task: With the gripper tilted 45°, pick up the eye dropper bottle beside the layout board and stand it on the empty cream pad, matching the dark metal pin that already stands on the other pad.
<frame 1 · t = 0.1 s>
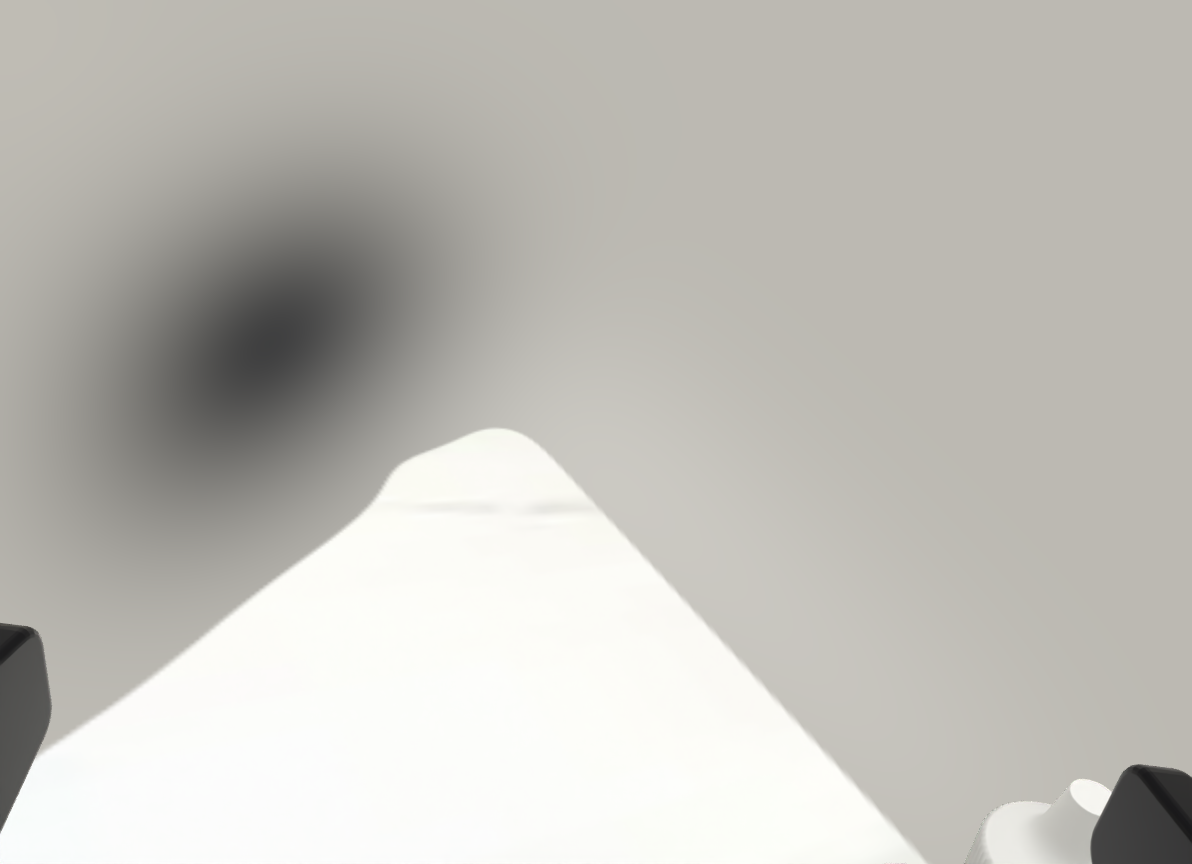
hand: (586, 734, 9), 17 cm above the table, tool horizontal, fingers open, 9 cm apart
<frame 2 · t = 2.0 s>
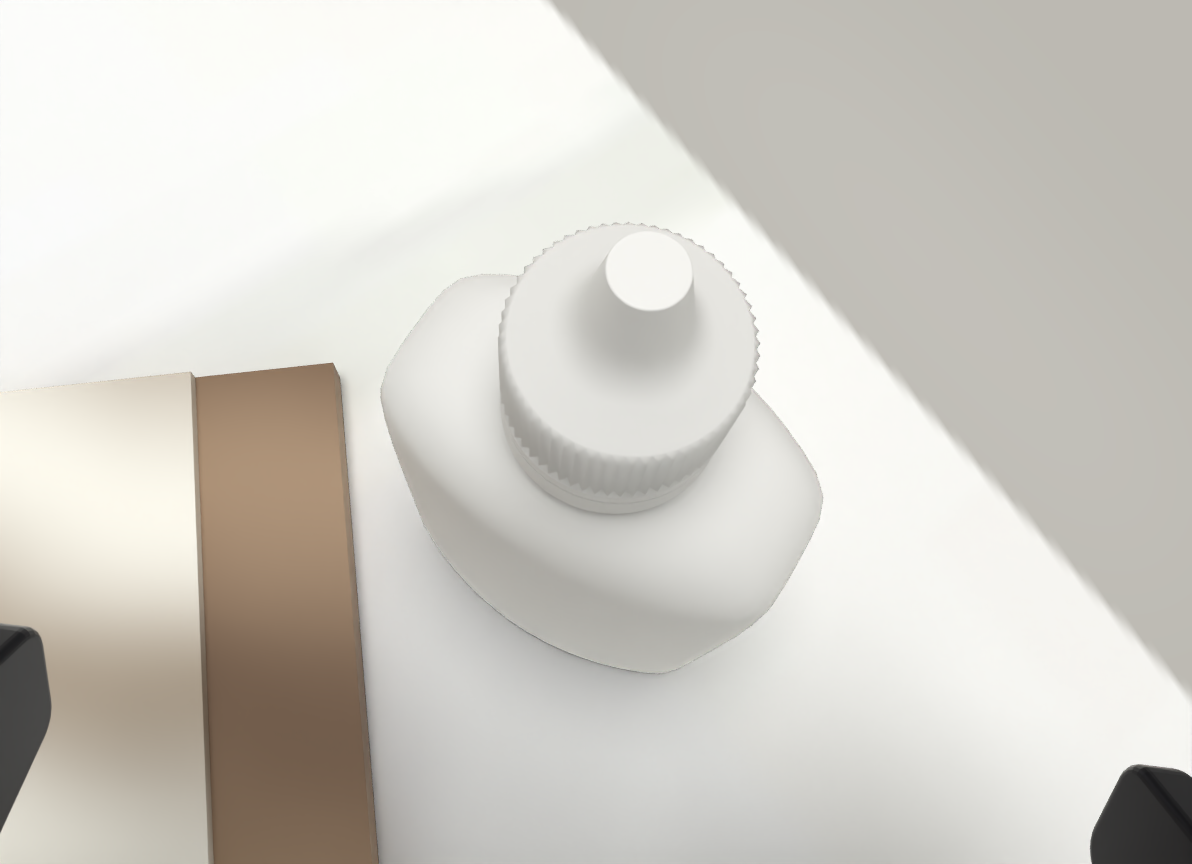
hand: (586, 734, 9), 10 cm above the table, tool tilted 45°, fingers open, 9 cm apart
eye dropper bottle: (571, 555, 20), on the table
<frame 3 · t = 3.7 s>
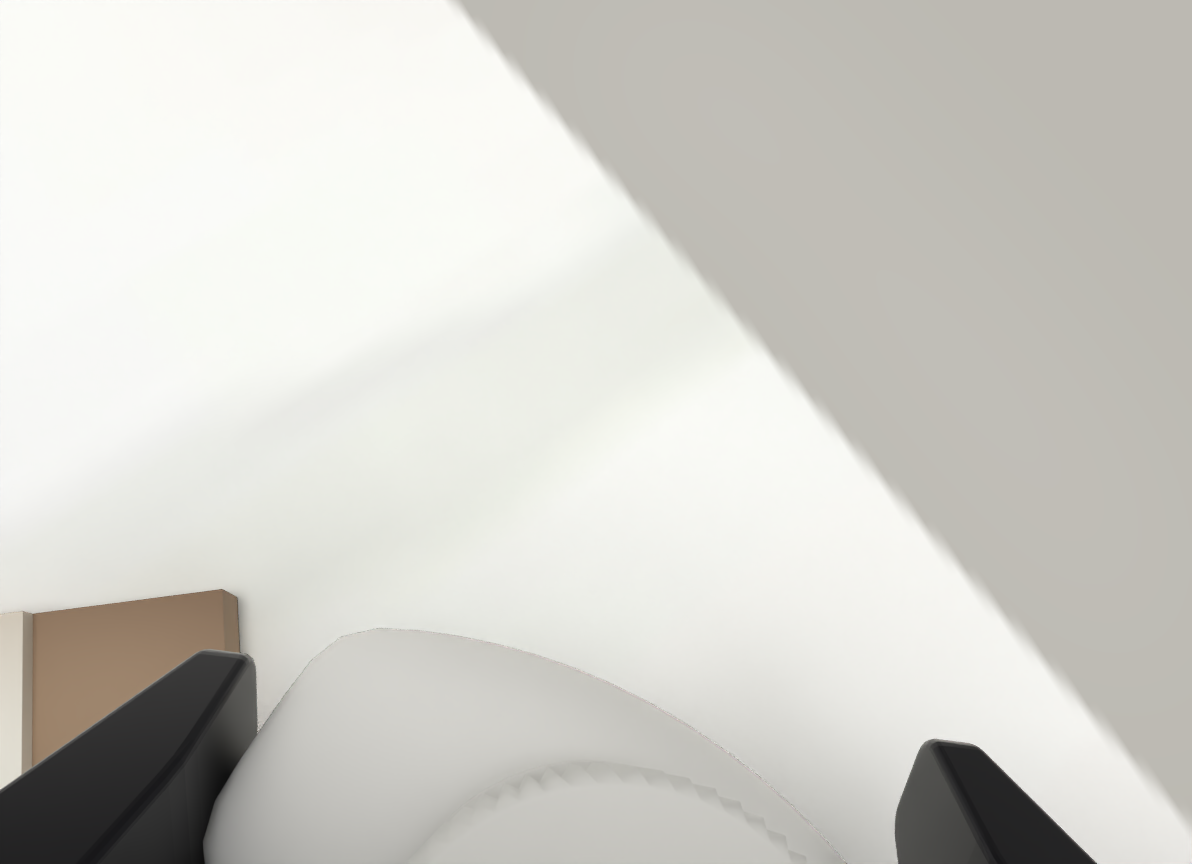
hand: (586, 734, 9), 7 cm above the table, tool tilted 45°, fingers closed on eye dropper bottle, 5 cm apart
eye dropper bottle: (545, 842, 15), on the table, touching gripper
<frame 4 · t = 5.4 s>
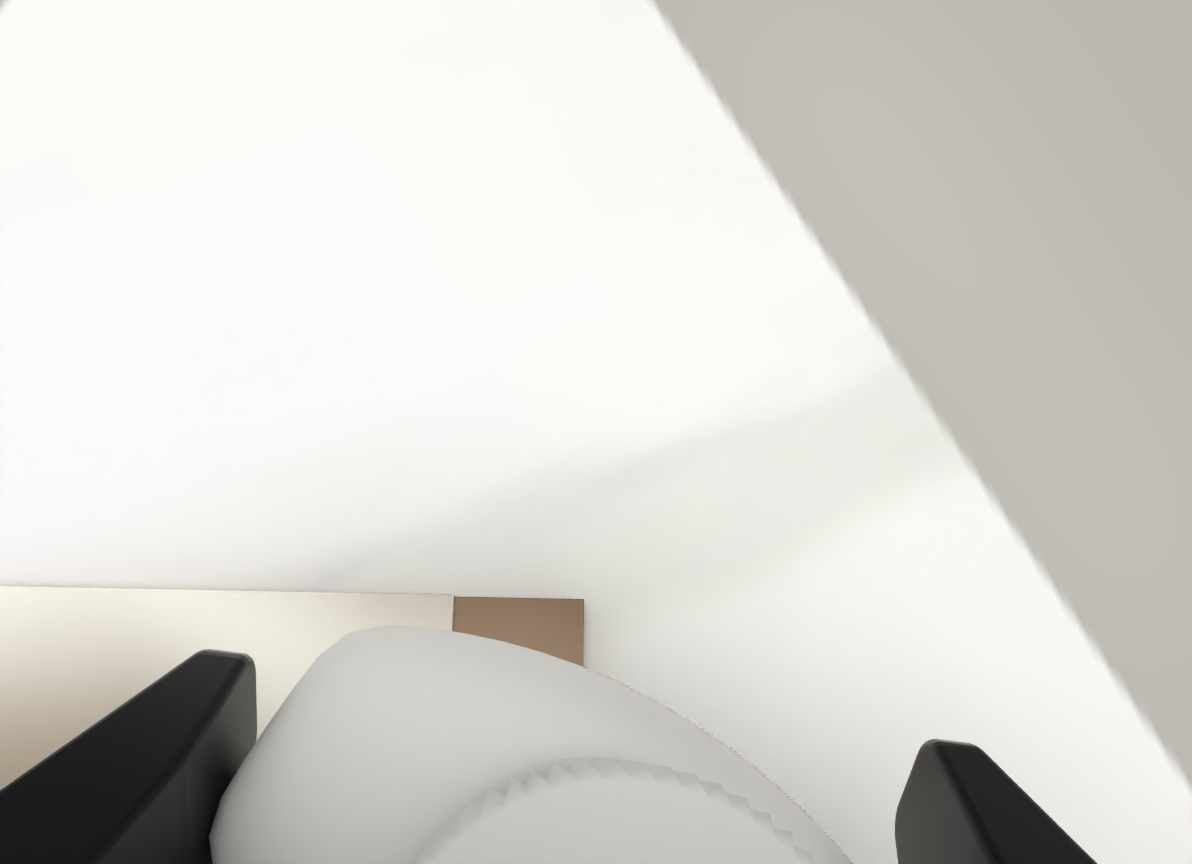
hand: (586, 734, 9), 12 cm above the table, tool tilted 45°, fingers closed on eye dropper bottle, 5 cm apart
eye dropper bottle: (547, 840, 15), point 5 cm above the table, touching gripper
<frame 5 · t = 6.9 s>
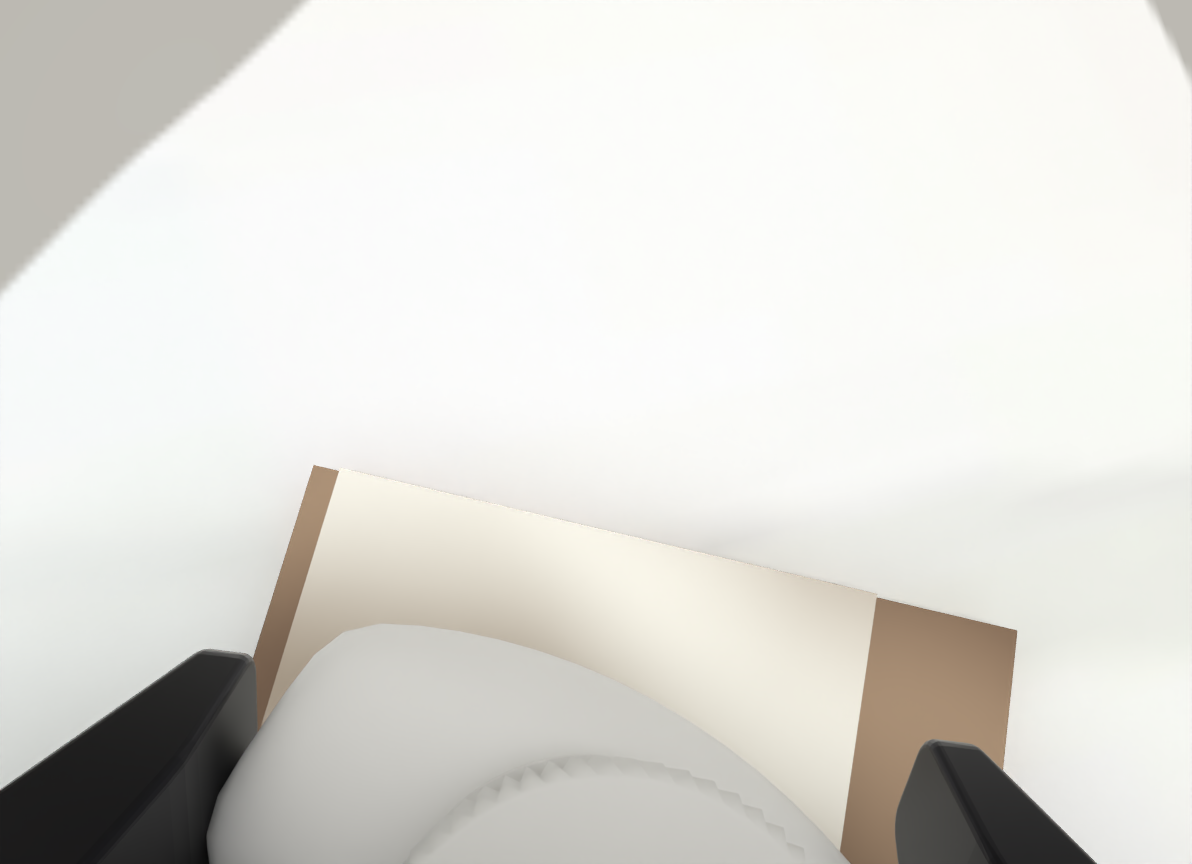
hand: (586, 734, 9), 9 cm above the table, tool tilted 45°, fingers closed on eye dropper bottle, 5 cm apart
eye dropper bottle: (545, 838, 15), point 2 cm above the table, touching gripper
when the fingers open (9 cm above the table, at t = 7.5 s): eye dropper bottle stays where it is, resting on layout board.
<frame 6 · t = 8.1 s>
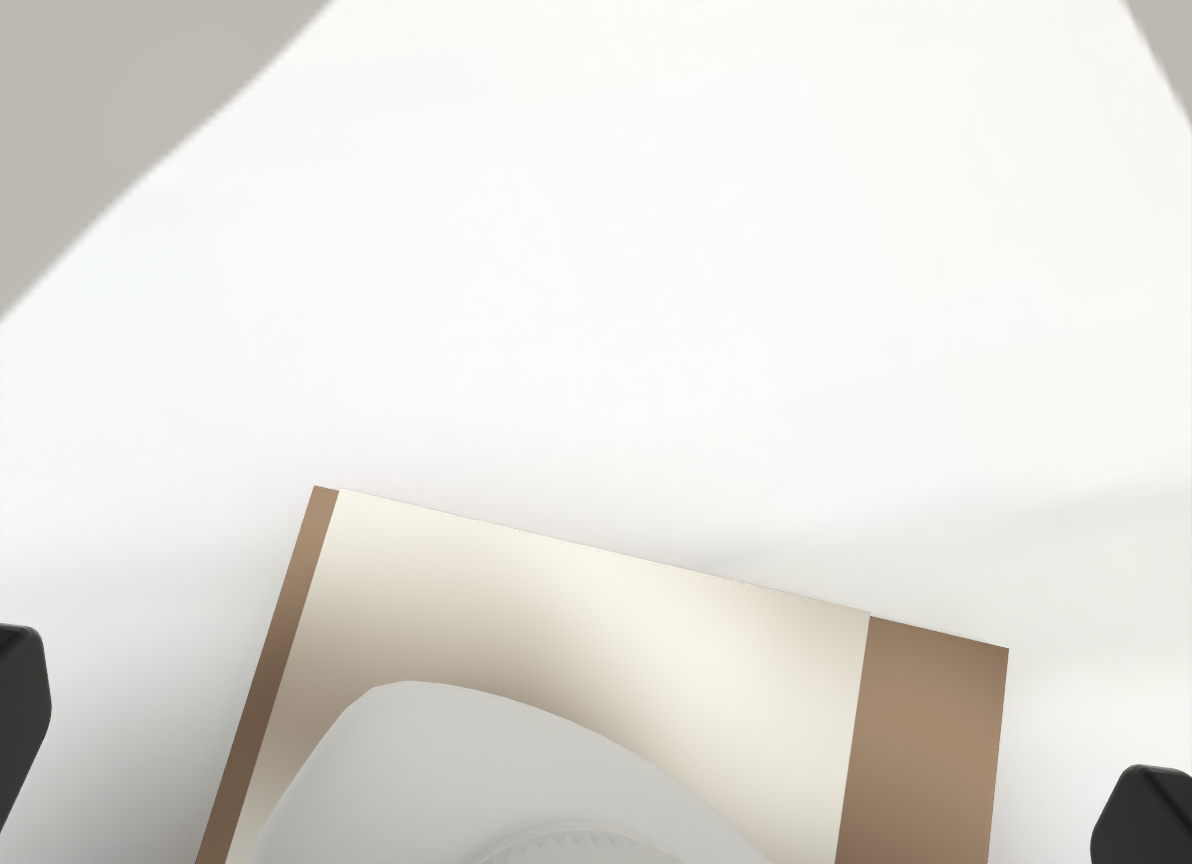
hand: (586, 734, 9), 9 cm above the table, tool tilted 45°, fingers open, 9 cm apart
eye dropper bottle: (542, 843, 16), point 1 cm above the table, touching layout board
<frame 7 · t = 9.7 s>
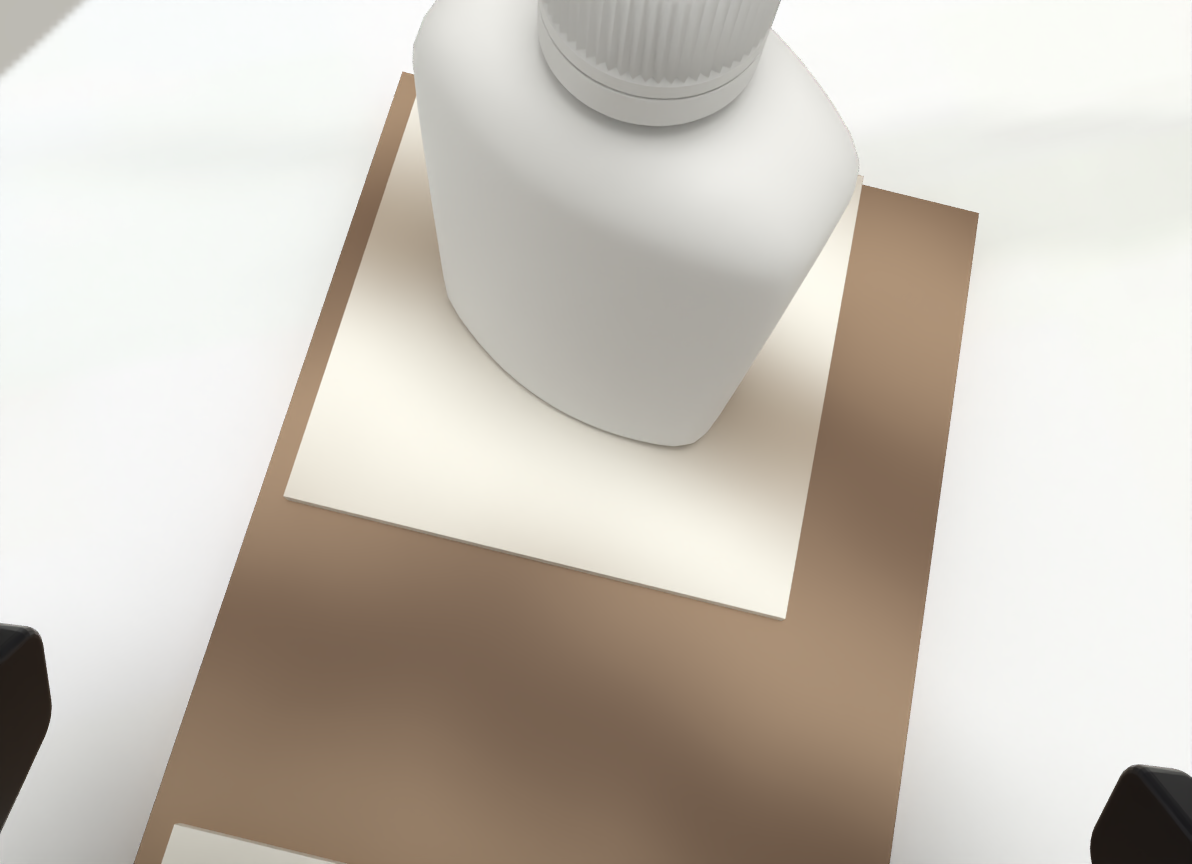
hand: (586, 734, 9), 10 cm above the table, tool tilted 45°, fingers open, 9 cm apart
layout board: (547, 746, 18), on the table
eye dropper bottle: (593, 336, 20), point 1 cm above the table, touching layout board
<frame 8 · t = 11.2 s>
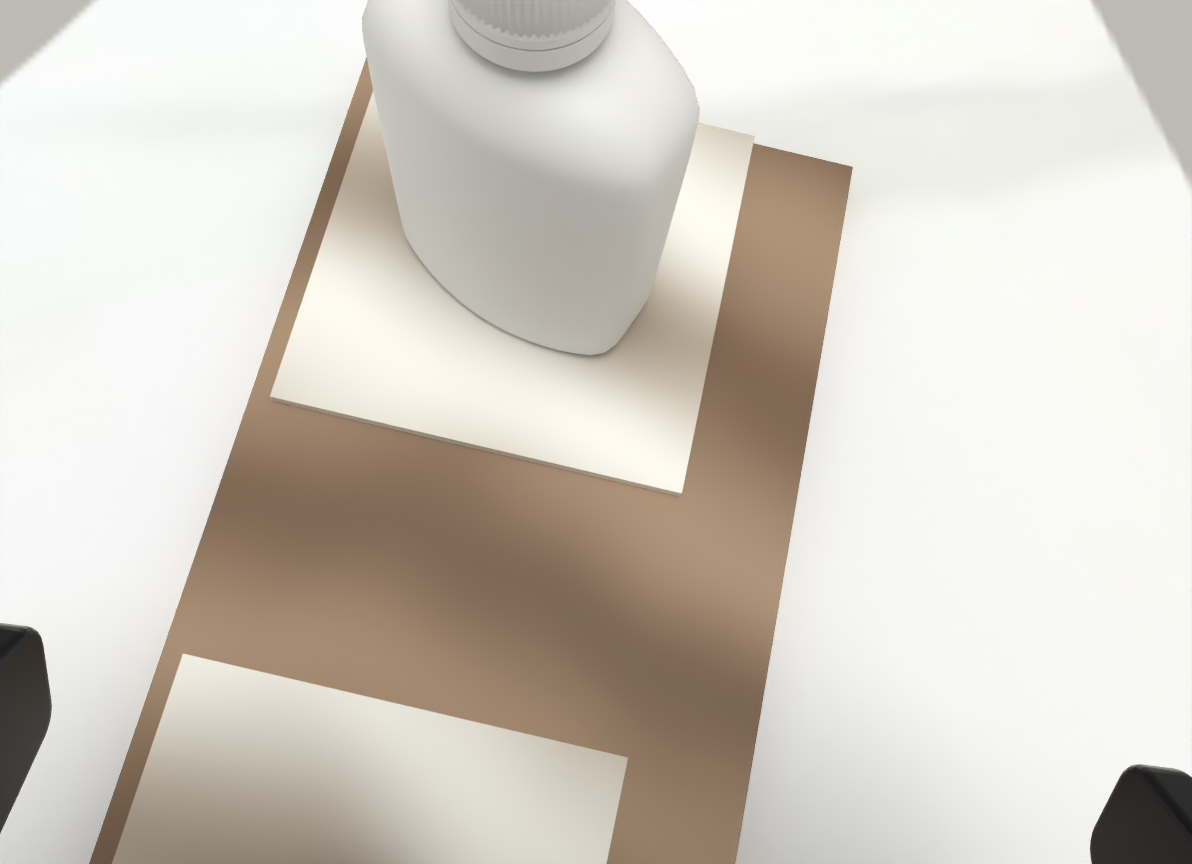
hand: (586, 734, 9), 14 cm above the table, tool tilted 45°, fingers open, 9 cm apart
layout board: (488, 600, 22), on the table
eye dropper bottle: (526, 268, 24), point 1 cm above the table, touching layout board
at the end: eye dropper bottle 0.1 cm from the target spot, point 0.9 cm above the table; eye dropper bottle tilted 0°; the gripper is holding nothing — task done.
